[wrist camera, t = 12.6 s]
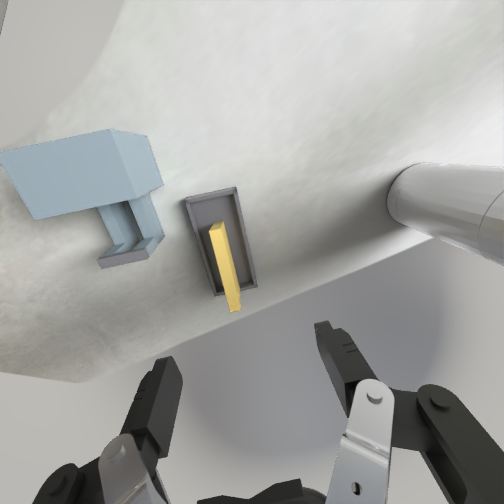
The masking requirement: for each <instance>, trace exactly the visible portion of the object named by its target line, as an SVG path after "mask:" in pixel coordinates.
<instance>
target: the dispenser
mask: <svg viewBox="0 0 504 504" xmlns="http://www.w3.org/2000/svg"><path fill="white" fill-rule="evenodd" d="M0 163H1V165H2V167H3V168H4V170H5V172H6V173H7V175H8V177H9V178H10V180H11V182H12V183H13V185H14V187H15V188H16V190H17V191H18V193H19V195H20V196H21V198H22V200H23V201H24V203H25V205H26V206H27V208H28V210H29V211H30V213H31V215H32V216H33V218H34V220H38V219H42V218H47V217H52V216H56V215H61V214H66V213H70V212H75V211H80V210H84V209H89V208H94V207H97V209H98V211H99V213H100V215H101V217H102V219H103V221H104V223H105V225H106V228H107V230H108V232H109V234H110V236H111V238H112V240H113V242H114V244H115V245H114V246H113V247H112V248H111V249H109V250H108V251H107V252H106V253H104V254H103V255H102V256H101V257H100V258H98V259H97V261H98V263H99V265H100V267H101V269H104V268H109V267H113V266H118V265H123V264H127V263H132V262H136V261H141V260H146V259H148V258H149V256H150V255H151V254H152V252H153V251H154V250H155V248H156V247H157V246H158V244H159V243H160V242H161V240H162V239H163V238H164V236H165V235H164V232H163V230H162V227H161V224H160V222H159V219H158V216H157V214H156V211H155V208H154V205H153V203H152V200H151V197H150V195H149V192H150V191H152V190H154V189H156V188H158V187H160V186H162V185H164V184H163V181H162V178H161V175H160V172H159V169H158V166H157V163H156V160H155V158H154V155H153V152H152V149H151V146H150V143H149V140H148V137H147V136H145V135H139V134H134V133H129V132H124V131H119V130H114V129H107V130H102V131H97V132H92V133H88V134H83V135H78V136H74V137H69V138H64V139H59V140H55V141H50V142H45V143H40V144H36V145H31V146H26V147H22V148H17V149H12V150H7V151H3V152H0ZM126 200H128V202H129V204H130V206H131V209H132V211H133V214H134V216H135V218H136V221H137V223H138V226H139V228H140V230H141V233H142V235H143V238H144V239H143V240H142V241H141V242H140V243H139V244H138V245H137V246H136V247H135V248H134V249H133V250H131V249H132V248H133V247H134V246H135V245H136V244H137V243H138V242H139V241H138V238H137V236H136V234H135V231H134V229H133V227H132V224H131V222H130V219H129V217H128V215H127V212H126V210H125V208H124V205H123V203H122V201H126Z"/></svg>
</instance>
